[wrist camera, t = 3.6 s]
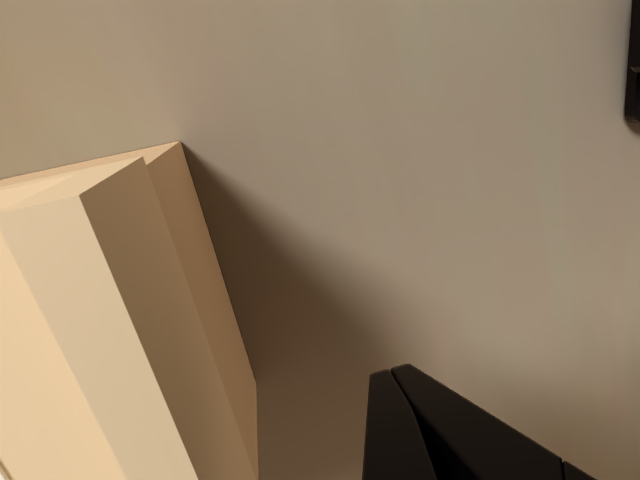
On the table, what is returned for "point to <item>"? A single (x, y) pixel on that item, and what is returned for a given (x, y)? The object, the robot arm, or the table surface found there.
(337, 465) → the table surface
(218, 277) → the base
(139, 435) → the cream angled plate
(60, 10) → the table surface
